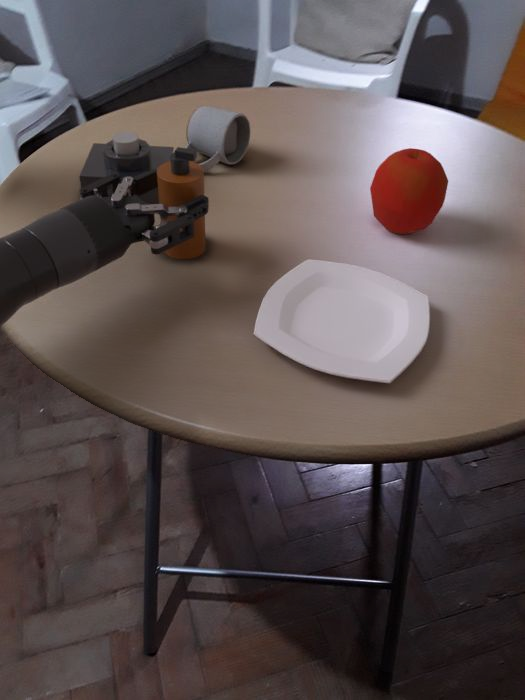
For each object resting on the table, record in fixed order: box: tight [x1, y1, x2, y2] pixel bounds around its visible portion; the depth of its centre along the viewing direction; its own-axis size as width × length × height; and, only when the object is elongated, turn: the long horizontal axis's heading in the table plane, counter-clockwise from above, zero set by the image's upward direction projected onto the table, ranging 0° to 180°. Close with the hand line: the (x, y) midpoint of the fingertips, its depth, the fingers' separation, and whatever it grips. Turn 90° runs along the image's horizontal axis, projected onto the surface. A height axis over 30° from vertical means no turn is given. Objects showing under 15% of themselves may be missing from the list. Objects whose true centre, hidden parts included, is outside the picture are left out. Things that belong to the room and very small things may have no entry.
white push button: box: [112, 130, 140, 155], centre depth 89 cm, size 4×4×2 cm
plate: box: [253, 258, 431, 384], centre depth 73 cm, size 19×19×2 cm
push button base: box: [78, 138, 175, 204], centre depth 92 cm, size 12×10×6 cm
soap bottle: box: [157, 146, 206, 260], centre depth 78 cm, size 6×6×14 cm
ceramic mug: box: [185, 105, 252, 172], centre depth 98 cm, size 11×8×8 cm
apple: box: [369, 147, 449, 235], centre depth 85 cm, size 10×10×12 cm
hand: (182, 189), depth 78 cm, fingers open, 8 cm apart
